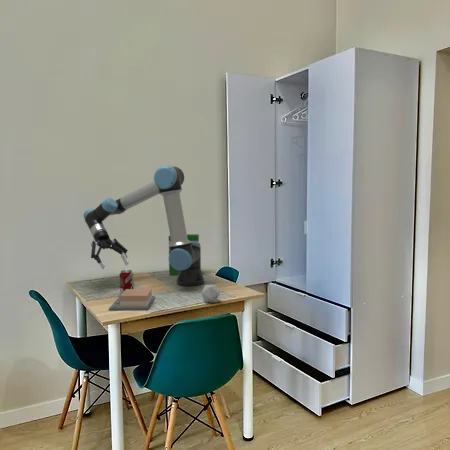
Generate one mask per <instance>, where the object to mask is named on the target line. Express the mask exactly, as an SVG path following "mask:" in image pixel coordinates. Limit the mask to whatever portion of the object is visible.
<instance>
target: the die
mask: <svg viewBox="0 0 450 450" xmlns="http://www.w3.org/2000/svg"><path fill="white" fill-rule="evenodd" d="M201 296H202V298H203V301H204V303H205V302H210V303H216V302H217V301H218V298H219V296H220V292H219V289H218V287H217V285H216V284H205V285H204V287H203V289H202V291H201Z"/></svg>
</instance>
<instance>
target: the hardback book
mask: <svg viewBox="0 0 450 450" xmlns="http://www.w3.org/2000/svg"><path fill="white" fill-rule="evenodd" d="M187 238H188V240H189V241H191V242H198V243H200V241H199V240H200V235H199V233H198V234H197V233H196V234H193V233H192V234H191V233H190V234H187ZM170 244H171V237H170V235H168V246H169V245H170ZM169 254H170V248H169V247H168V255H169ZM168 268H169V269H168V272H169V273H168V274H169V275H168V276H170V277H171V276H172V277H173V276H175V277H178V274H179V271H180V270H176V269H174V268H173V267H172V266H171V265H170V263H169V262H168Z"/></svg>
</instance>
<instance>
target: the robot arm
mask: <svg viewBox="0 0 450 450" xmlns="http://www.w3.org/2000/svg"><path fill="white" fill-rule="evenodd" d="M184 174H185V173H184V172H183V170H182V169H181V168H180V167H178V166H172V165H163V166H159V168H157V169H156V171H155V172H154V176H153V180H152V181H151V182H149V183H148V184H145V185H143V186H142V187H139V188H137V189H136V190H134V191H132V192H129V193H128V194H125V195H124V196H121V197H120V198H118V199H113V198H111V197H107V198H106V199H104V200H103V201H102V202H101V203H100V204H99V205H98V206H97V207H95V208H89V209H87V210H85V211H84V213H83V218H84V222H85V224H86V225H87V227H88V230H89V231H90V233H91V236H92V237H93V240H92V242H91V244H90V245H91V253H90V254H91V255H90V258H91V259H94V260H95V261H96V263H97V264H99V266H100V268H101V270H104V269H105V267H106V265H105V263H104V261H103V258H102V256H101V255H100V253H101V250H105V249H106V250H107V249H110V250H113V251H114V252H116V253H118V254H119V255H120V257H121V259H122V261H123V263H124V265H125V266H128V265H129V263H130V261H129V260H128V256H127V253H128V251H129V250H128V249H127V248H126V247H125V246H123V244H121V243H120V242H119V241H118V240H117V239H116V238H114V239H111V238H110V235H109V232H108V231H107V229H106V227H105V225H104V223H103V221H104V222H105V220H106V219H107V218H108V217H110V216H113V215H122V214H123V213H125V212H126V211H127V210H129V209H132V208H134V207H135V206H137V205H140V204H141V203H143V202H145V201H148V200H149V199H151V198H153V197H156V196H157V195H160V196H161V197H162V198H163V202H164V209H165V215H166V219H167V226H168V230H169V236H170V237H171V244H170V245H169V244H168V249H169V248H170V254H169V253H168V264H169V263H170V265H171V266H172V267H173V268H174V269H176V270H180V271H179V274H178V276H176V284H177V285H178V286H182V287H183V286H184V287H195V286H200V285H203V284H205V277H204V275H203V272H202V269H201V268H202V267H201V266H202V264H201V263H202V260H201V259H202V255H201V254H202V253H201V252H202V251H201V248H202V246H201V243H200V242H199V243H198V242H191V241H189V240H188V238H187V228H186V224H185V218H184V217H185V216H184V211H183V206H182V200H181V194H180V193H181V192H182V189H183V188H182V185H183V184H184V182H185V175H184ZM97 246H98V250H97V252H96V248H97Z"/></svg>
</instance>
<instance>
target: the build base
mask: <svg viewBox="0 0 450 450" xmlns="http://www.w3.org/2000/svg"><path fill="white" fill-rule="evenodd" d="M155 299H156V296H155V295H153V291H152V288H134V289H126V290H125V291H124V292H123V293H122V294H119V296H118V297H117V299H116V300H115V301H114V302H113V304H111V305H110V307H109V308H108V311H114V312H115V311H149V309H150V308H151V306H152V304H153V303H154V301H155Z"/></svg>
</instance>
